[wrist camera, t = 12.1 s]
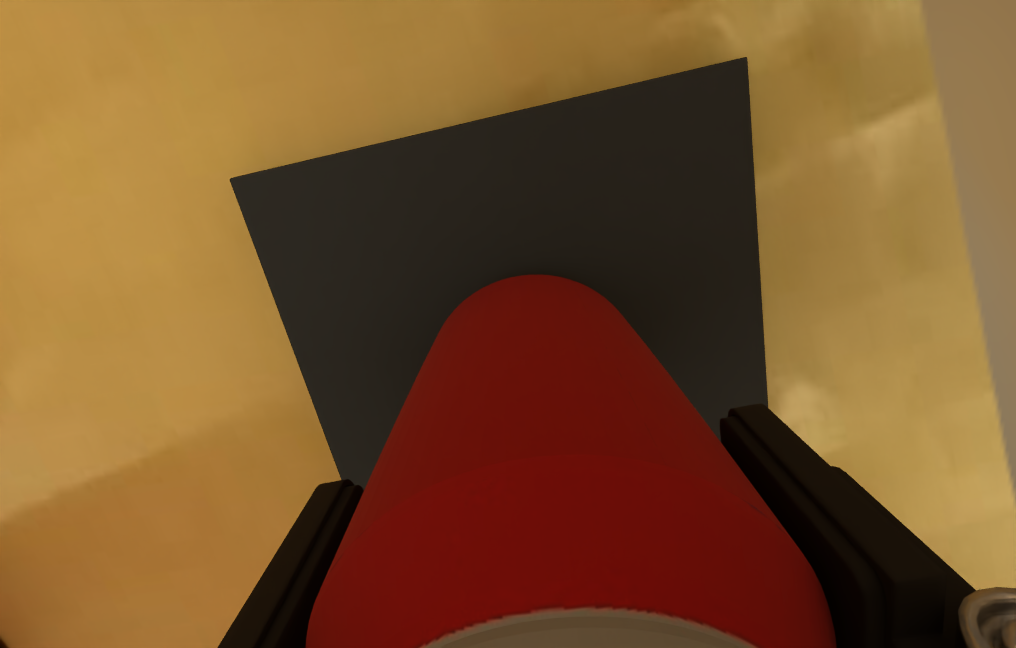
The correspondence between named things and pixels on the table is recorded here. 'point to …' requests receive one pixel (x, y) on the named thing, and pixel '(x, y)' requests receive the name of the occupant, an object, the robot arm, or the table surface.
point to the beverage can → (560, 501)
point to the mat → (521, 242)
